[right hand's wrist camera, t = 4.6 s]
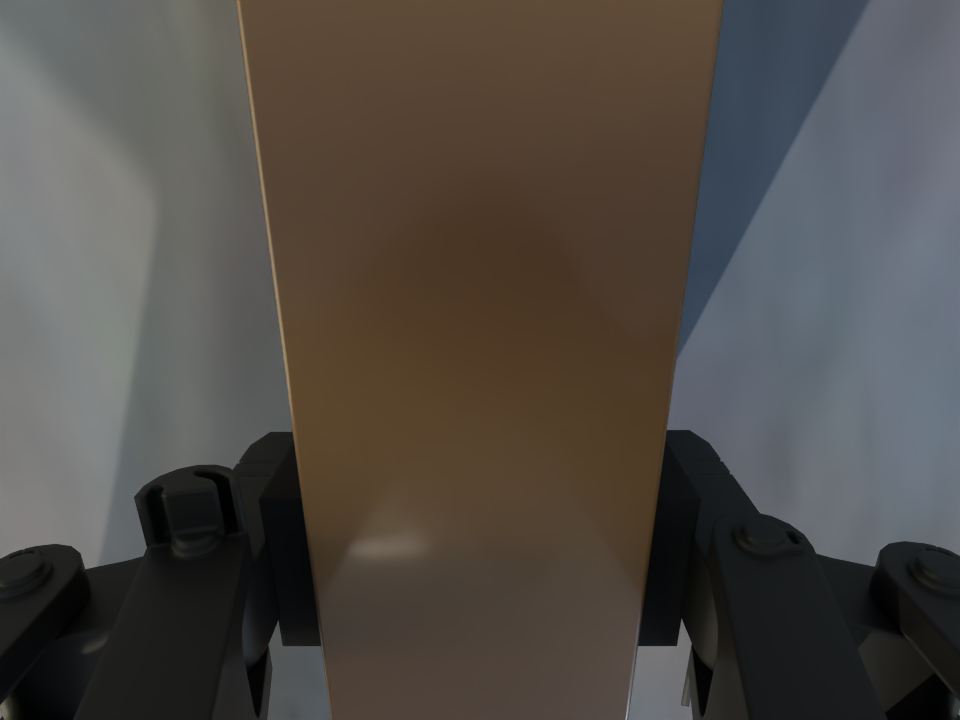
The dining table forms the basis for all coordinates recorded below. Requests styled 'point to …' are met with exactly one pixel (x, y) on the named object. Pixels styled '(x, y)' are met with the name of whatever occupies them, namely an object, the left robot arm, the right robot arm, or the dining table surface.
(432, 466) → the bar
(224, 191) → the dining table surface
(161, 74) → the dining table surface
